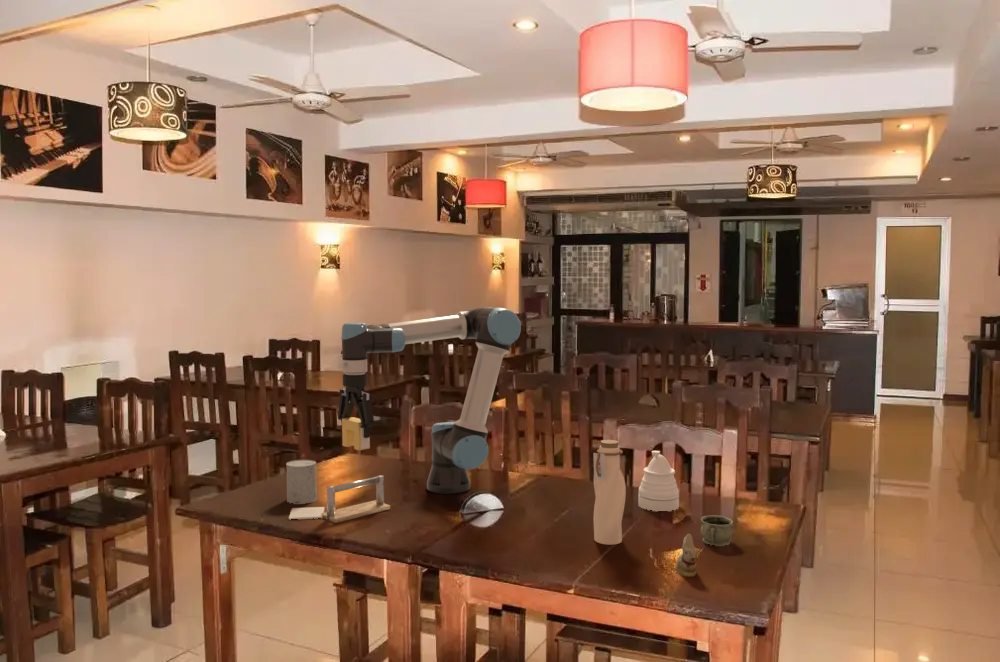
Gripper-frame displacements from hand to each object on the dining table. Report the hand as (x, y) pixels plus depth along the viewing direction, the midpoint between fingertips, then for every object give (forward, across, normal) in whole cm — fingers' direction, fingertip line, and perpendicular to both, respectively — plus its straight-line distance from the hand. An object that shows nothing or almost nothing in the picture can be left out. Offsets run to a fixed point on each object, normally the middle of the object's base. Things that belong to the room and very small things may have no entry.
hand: (356, 445), depth 244 cm
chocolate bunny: (+22, +98, +33) cm, 105 cm away
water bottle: (+22, +70, +36) cm, 82 cm away
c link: (0, 0, 0) cm, 0 cm away
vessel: (+22, +91, +58) cm, 110 cm away
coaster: (+21, -10, -12) cm, 26 cm away
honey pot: (+22, +60, +75) cm, 98 cm away
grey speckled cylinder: (+21, -24, -5) cm, 33 cm away
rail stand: (+21, 0, 0) cm, 21 cm away
